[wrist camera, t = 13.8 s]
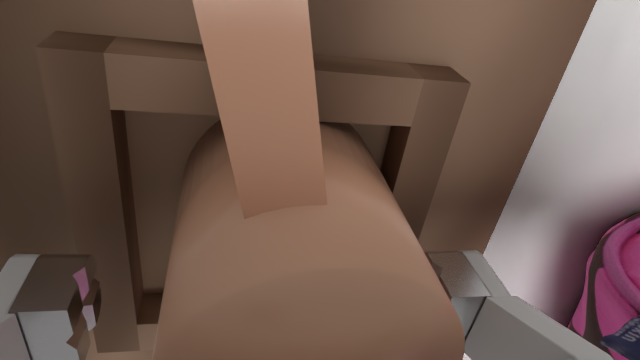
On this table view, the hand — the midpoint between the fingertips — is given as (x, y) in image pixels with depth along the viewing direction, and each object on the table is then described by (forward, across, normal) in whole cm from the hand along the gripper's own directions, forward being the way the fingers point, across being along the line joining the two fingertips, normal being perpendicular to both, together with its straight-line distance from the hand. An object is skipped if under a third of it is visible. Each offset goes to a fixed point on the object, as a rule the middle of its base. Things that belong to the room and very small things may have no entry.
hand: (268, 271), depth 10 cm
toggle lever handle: (+3, 0, -1) cm, 3 cm away
